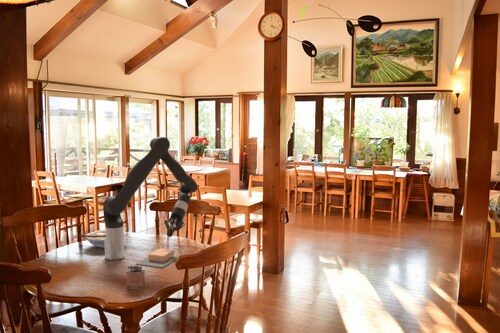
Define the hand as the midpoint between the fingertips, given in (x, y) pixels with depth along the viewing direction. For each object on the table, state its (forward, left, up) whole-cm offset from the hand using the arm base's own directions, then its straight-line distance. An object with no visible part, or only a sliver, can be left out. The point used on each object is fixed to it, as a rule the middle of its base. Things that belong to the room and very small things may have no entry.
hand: (169, 236), depth 223 cm
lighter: (-39, -24, -11) cm, 47 cm away
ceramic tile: (-2, -1, -8) cm, 8 cm away
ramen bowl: (-14, +41, -11) cm, 44 cm away
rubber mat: (-11, -4, -10) cm, 16 cm away
